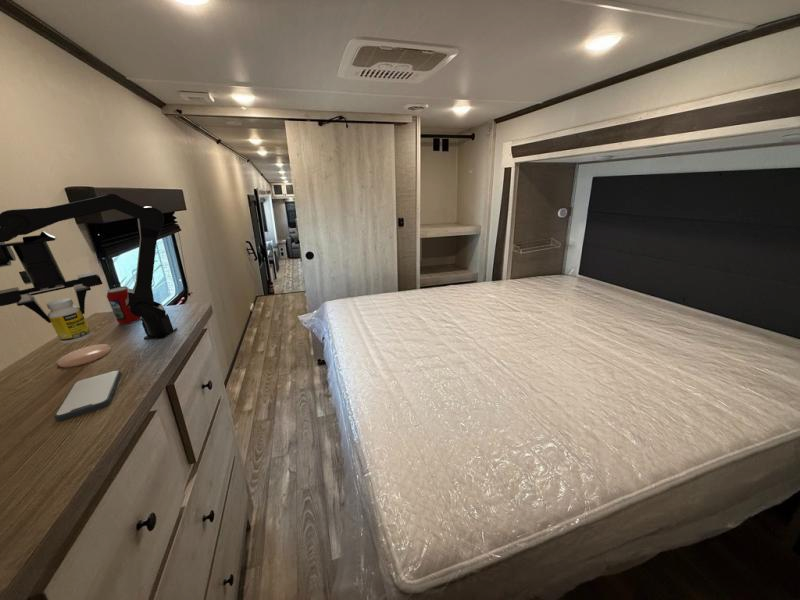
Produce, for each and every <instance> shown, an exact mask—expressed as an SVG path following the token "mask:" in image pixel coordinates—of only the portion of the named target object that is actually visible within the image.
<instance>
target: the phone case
mask: <svg viewBox="0 0 800 600" xmlns="http://www.w3.org/2000/svg"><path fill="white" fill-rule="evenodd" d="M121 375H122V373H121V370H120V369H119V370H118V369H117V370H116V369H115V370H112V371H108V372H104V373H102V374H98V375H94V376H89V377H87V378H83V379H79V380H78V381H76V382H74V383H73V385H72V387H71V388H70V389H69V391H68V393H67V394H66V396H65V398H64V399H63V401H62V402H61V405H60V406H59V407H58V409H57V410H56V412H55V414H54V415H53V416H54V419H55V421H56V422H63V421H66V420H69V419H73V418H77V417H78V416H82V415H85V414H89V413H91V412H94V411H95V412H96V411H97V410H101V409H104V408H106V407H108V406H110V404H111V403H112V400H113V398H114V395H115V393H116V390H117V387H118V384H119V381H120V378H121Z"/></svg>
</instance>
